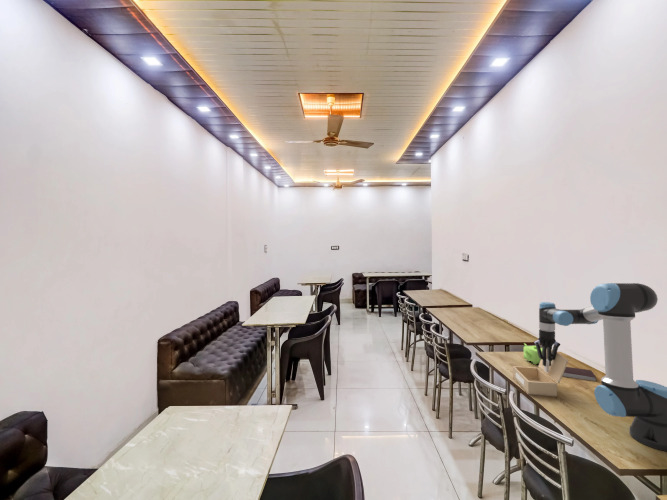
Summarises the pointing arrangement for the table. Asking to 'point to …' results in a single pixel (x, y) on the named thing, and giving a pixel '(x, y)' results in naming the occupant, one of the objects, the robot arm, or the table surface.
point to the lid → (556, 367)
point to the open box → (535, 381)
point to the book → (579, 373)
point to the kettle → (531, 354)
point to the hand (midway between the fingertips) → (546, 371)
